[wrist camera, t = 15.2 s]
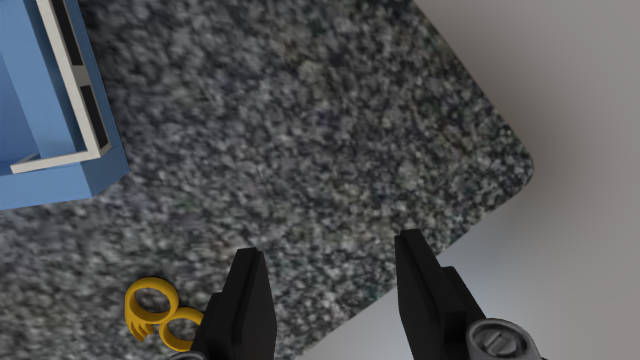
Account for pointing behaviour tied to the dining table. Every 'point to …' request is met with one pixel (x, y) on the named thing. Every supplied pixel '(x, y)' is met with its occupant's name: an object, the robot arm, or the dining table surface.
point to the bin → (47, 113)
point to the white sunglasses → (70, 90)
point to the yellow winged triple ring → (157, 314)
